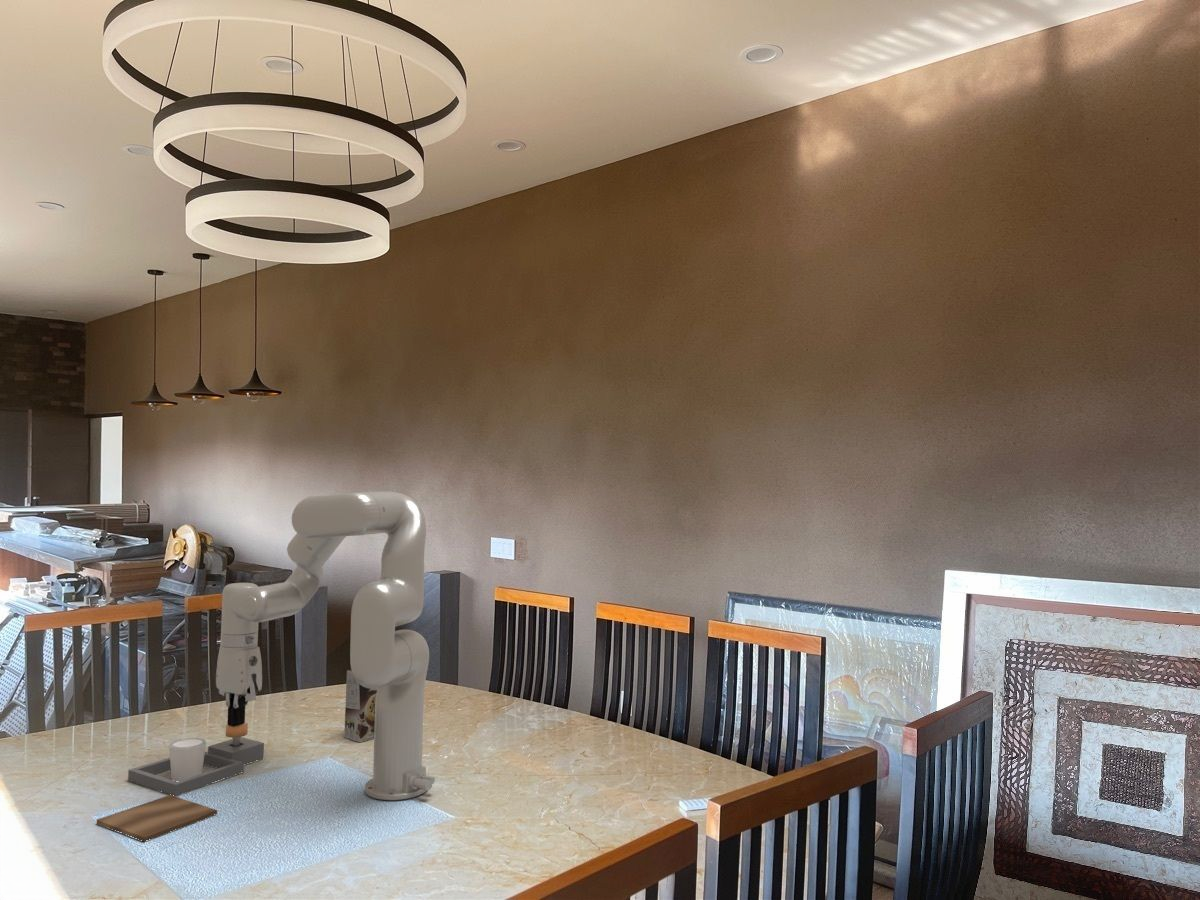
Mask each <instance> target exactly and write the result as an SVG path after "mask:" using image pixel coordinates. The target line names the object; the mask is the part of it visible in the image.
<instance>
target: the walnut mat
mask: <svg viewBox="0 0 1200 900" xmlns="http://www.w3.org/2000/svg"><path fill="white" fill-rule="evenodd" d="M214 814H217V815H218V810H217V809H215V808H212V807H208V806H205V805H202V804H200V803H197V802H193V801H190V800H187V799H185V798H181V797H178V796H173V795H169V794H167V795H165V796H162V797H159V798H156V799H154V800H150V801H147V802H145V803H142V804H138V805H136V806H132V807H129V808H128V809H124V810H121V811H118V812H115V813H112V814H110V815H107V816H106V815H105V816H104V817H100V818H98V819H96V825H97V824H99V825H98V826H100V825H101V826H100V827H103V826H104V827H103V828H105V827H108V828H110V829H113V830H116V831H119V832H122V833H124V834H127V835H129V836H132V837H134V838H137V839H139V840H142V841H146V840H149V839H152V838H154V839H156V838H155V837H157V836H159V837H161V836H160V835H162V836H164V835H163V834H165V833H167V834H169V833H168V832H170V831H172V832H174V831H173V830H175V829H178V828H180V829H182V828H181V827H183V828H185V827H184V826H186V827H188V826H190V824H191V825H193V824H196V823H198V822H197V821H199V822H201V821H204V820H206V819H205V818H207V817H209V818H211V817H210V816H212V817H214V816H215V815H214ZM213 815H214V816H213ZM203 819H204V820H203ZM207 819H208V818H207ZM200 820H201V821H200ZM195 822H196V823H195ZM187 825H188V826H187ZM108 828H107V829H108ZM110 829H109V830H110ZM113 830H112V831H113ZM178 830H179V829H178ZM116 831H115V832H116ZM175 831H176V830H175ZM170 833H171V832H170ZM124 834H123V835H124ZM165 835H166V834H165ZM129 836H128V837H129ZM134 838H133V839H134ZM157 838H158V837H157ZM137 839H136V840H137ZM139 840H138V841H139ZM152 840H153V839H152ZM142 841H141V842H142ZM149 841H150V840H149ZM146 842H147V841H146Z"/></svg>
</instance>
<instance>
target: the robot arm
mask: <svg viewBox="0 0 1200 900" xmlns="http://www.w3.org/2000/svg"><path fill="white" fill-rule="evenodd" d="M426 522H427V521H426V518H425V515H424V512H423V510H422V508H421V506H420V505H419V504H418V503H417V502H416V501H415V500H414V499H413V498H412V497H410V496H408V495H406V494H403V493H400V492H396V491H383V490H382V491H361V492H360V491H359V492H348V493H347V492H346V493H345V492H344V493H338V494H337V493H335V494H328V495H311V496H307V497H305V498H303V499H301V500H300V501H299V502H298V503H297V504H296V506H295V507H294V509H293V511H292V514H291V525H292V528H293V530H294V531H295V532H296V533H295V534H294V536H293V538H291V540H290V541H289V542H288V544H287V548H286V551H287V555H288V557H289V559H290V560H291V561H292V563H294V564H295V565H296V567H295V569H294V570H293V571H292V573H291V574H290V575H289V576H288V578H287V579H286V580H285V581H284V582H279V583H273V584H268V585H267V584H266V585H261V586H258V585H257V584H255V583H252V582H235V583H234V582H233V583H229V584H226V585H225V586H224V587H223V588H222V601H221V626H220V628H221V629H220V646H219V650H218V655H217V663H216V664H217V665H216V669H215V670H216V671H215V685H216V688H217V690H218V693H219V695H221V696H222V697H224V698H225V704H226V707H228V708H227V724H226V725H229V726H233V727H234V726H237V725H241V724H244V723H246V706H248V703H249V702H252V701H255V700H256V699H257V698H256V697H257V696H256V693H259V692H261V690H262V688H263V665H262V663H263V662H262V655H261V650H260V649H261V648H260V646H258V642H259V623H263V622H264V623H265V622H267V621H274V620H276V619H280V618H285V617H286V618H287V617H290V616H291V617H292V616H293V615H296V614H297V613H300V612H301V610H302V609H304V608H305V606H306V605H307V604H308V603H309V602H310V601H311V599H312V598H313V597H314V595H315V594H316V593H317V592H318V590H319V588H320V586H321V583H322V578H323V573H324V572H323V570H324V569H323V566H324V565H325V563H327V561H328V560H329V559H330V558H331V556H333V554H334V552H335V551H336V550H337V548H338V547H339V546H340V545H341V544H342V543H343V541H344V540H345V538H346V537H355V536H357V537H358V536H366V535H368V536H369V535H377V534H386V535H387V540H386V542H385V544H384V546H383V548H382V553H381V559H380V564H381V565H380V566H381V568H380V569H381V571H380V578H379V580H375V581H372V582H369V583H367V584H365V585H363V586H362V587H361V588H360V589H359V590H358V591H357V593H356V594H355V596H354V599H353V601H352V605H351V611H350V612H351V613H350V644H349V645H350V646H349V647H350V648H349V649H350V650H349V654H350V655H349V656H350V658H349V661H350V662H349V663H350V670H352V673H353V675H354V677H355V679H356V681H357V682H358V683H359V684H360V685H362V686H363V687H366V688H369V689H376V688H378V690H377V694H376V701H375V728H374V739H373V765H372V766H373V767H372V768H373V769H372V770H373V771H372V772H373V773H372V776H373V777H372V778H370V779H369V780H368V781H366V782H365V785H364V793H365V794H366V796H369V797H370V798H373V799H377V800H383V801H401V800H407V799H411V798H416V797H418V796H421V795H423V794H424V793H426V792H429V791H430V790H431V788H432V787H433V784H434V783H435V780H436V779H435V777H434V776H430V775H427V767H426V766H424V765H423V735H424V730H423V729H424V703H425V702H424V701H425V699H424V698H425V686H426V679H427V673H428V669H429V665H430V664H429V663H430V649H429V646H428V642H427V640H426V639H425V638H424V636H423V635H422V634H421V633H419V632H418V631H415V630H412V629H399V630H398V629H397V630H396V627H399V626H403V625H406V624H409V623H411V622H413V621H416V619H418V618H419V617H420V616H421V614H422V613H423V609H424V601H425V600H424V599H425V596H424V595H425V589H424V588H425V550H426V549H425V547H426V546H425V545H426V538H427V537H426V534H427V523H426Z"/></svg>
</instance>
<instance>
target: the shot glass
mask: <svg viewBox="0 0 1200 900" xmlns="http://www.w3.org/2000/svg"><path fill="white" fill-rule="evenodd" d="M206 745H207V741H206V740H205V739H203V738H198V737H197V738H196V737H195V738H194V737H193V738H183V739H179V740H175V741H173V742H171V743H170V744H169V747H168V748H169V758H170V764H171V770H170V775H171V776H170V777H171V778H172V779H171V780H174V781H182V780H185V779H188V778H191V777H194V776H197V775H200V774H203V768H204V764H203V762H204V754H205V752H206Z"/></svg>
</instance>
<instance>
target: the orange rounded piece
mask: <svg viewBox="0 0 1200 900" xmlns="http://www.w3.org/2000/svg"><path fill="white" fill-rule="evenodd" d="M248 725H249V724H248V722H245V723H244V724H241V725H237V726H234V727H233V726H229V725H227V724H226V725H225V737H227V738H232V746H233V747H237V746H240V737H245V736H247V735H248V731H249V729H248V728H249V726H248Z"/></svg>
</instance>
